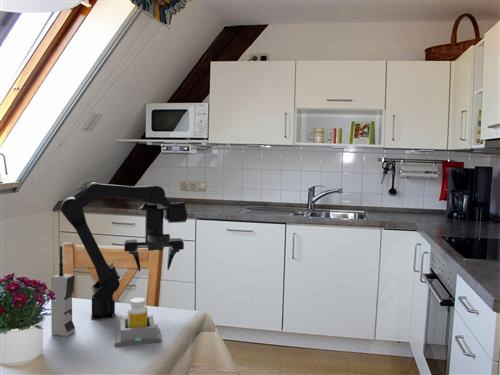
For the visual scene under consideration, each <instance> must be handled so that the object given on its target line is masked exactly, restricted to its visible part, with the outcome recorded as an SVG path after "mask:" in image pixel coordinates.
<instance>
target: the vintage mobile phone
mask: <svg viewBox="0 0 500 375" xmlns="http://www.w3.org/2000/svg"><path fill="white" fill-rule="evenodd" d="M63 267H64V264H63V246H59V273H58V274H55V275H53V276H51V277H50V292H51V291H53V292H54V293H55V294H56V301H53V300H51V299H50V302H51V309H50V310H51V311H50V312H51V313H50V314H51V315H50V318H51V320H50V321H51V322H50V323H51V325H50V326H51V335H52V336H59V337H68V336H70V335H72V334H74V333H75V332H76V326H75V323H74V322H73V293H74V290H75V281H76V280H75V279H76V278H75V276H76V275H75V274H71V273H64V268H63Z"/></svg>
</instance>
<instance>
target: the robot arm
mask: <svg viewBox="0 0 500 375" xmlns="http://www.w3.org/2000/svg"><path fill="white" fill-rule="evenodd" d="M96 197H109V198H110V197H113V198H123V199H124V198H126V199H136V200H139V201H142V202H143V203H142V205H141V206H139V207H138V210H140V211H145V214H144V215H145V217H144V218H145V221H144V222H145V224H144V226H145V233H144V234H145V235H144V238H145V240H144V241H139V242H138V239H126V240H124V242H123V243H124V252H128V254H129V255H132V256H133V258H134V260H135V264H136V267H137V269H138V272H141V262H140V257H139V256H140V255H139V254H140V253H139V249H147V250H148V251H151V252H153V251H164V248H168V253H167V263H166V264H167V266H166V267H167V268H166V269H167V271H169V270H170V267H171V265H172V262H173V260H174V257H175V255H176V254H177V253H180V251H181V250H184V248H185V245H184V240H183V239H182V238H181V237H177V238H176V237H174V238H173V237H171V234H170V233H166V234H165V233H164V220H165V221H167V223H169V224H172V223H173V224H174V223H175V224H178V223H186V222H187V220H188V212H187V208H186V202H185V201H178V202H170V200H168V199H167V197H166V192H165V190H164V188H163V187H162V186H159V185H156V184H143V185H137V186H135V185H134V186H133V185H121V184H120V185H119V184H112V183H111V184H107V183H98V182H95V181H94V182H90V183H89V184H88V185H87V186H86V187H85V188H83V189H82V190H80V191H79V192H78V193H76V194H75V195H74V196H69V197H68V196H67V197H66V198H64V200H62V203H61V204H60V205H61V206H60V207H61V213H62V214H63V216H64V217H65V219H67V221H68V222H69V223H70V224H71V226H72V227H73V228H74V230H75V231H76V233H77V234H78V237H79V239H80V241H81V243H82V245H83V247H84V249H85V251H86V253H87V255H88V256H89V259H90V260H91V262H92V265H93V266H94V269H95V272H96V275H97V278H98V279H97V281H96V282H95V283H94V284H93V285H92V286H91V290H92V295H91V315H90V319H91V320H95V319H96V320H97V319H110V318H114V314H115V312H116V299H115V297H114V293H116V291H117V290H118V289H119V287H120V285H121V284H120V279H121V276H120V274H119V272H118V271H117V269H116V266H115V265H114V262H111V263H110V264H109V263H108V262H107V260H106V259H105V257H104V255H103V253H102V252H101V249H100V248H99V245H98V243H97V241H96V238H95V237H94V235H93V232H92V231H91V229H90V227H89V225H88V222H87V219H86V215H85V213H84V212H85V211H84V208H85V207H86V206H87V205H89V204H90V203H91V201H93V200H94V199H95V198H96ZM148 203H151V204H148ZM158 204H159V205H161V206H159V207H158Z"/></svg>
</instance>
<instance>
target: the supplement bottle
mask: <svg viewBox="0 0 500 375" xmlns="http://www.w3.org/2000/svg"><path fill="white" fill-rule="evenodd" d="M147 316H148V307H147V306H146V298H144V297H134V298H132V299H130V306H129V307H128V309H127V318H128V328H137V327H147Z"/></svg>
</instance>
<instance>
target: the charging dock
mask: <svg viewBox="0 0 500 375" xmlns="http://www.w3.org/2000/svg"><path fill="white" fill-rule="evenodd" d="M114 328H115V327H114ZM161 342H162V338H161V333H160V329H159V325H158V324H155V320H154V315H147V327H137V328H128V317H121V318H120V327H116V328H115V329H114V347H115V348H116V347H124V346H125V347H126V346H135V345H143V344H144V345H145V344H155V343H161Z"/></svg>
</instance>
